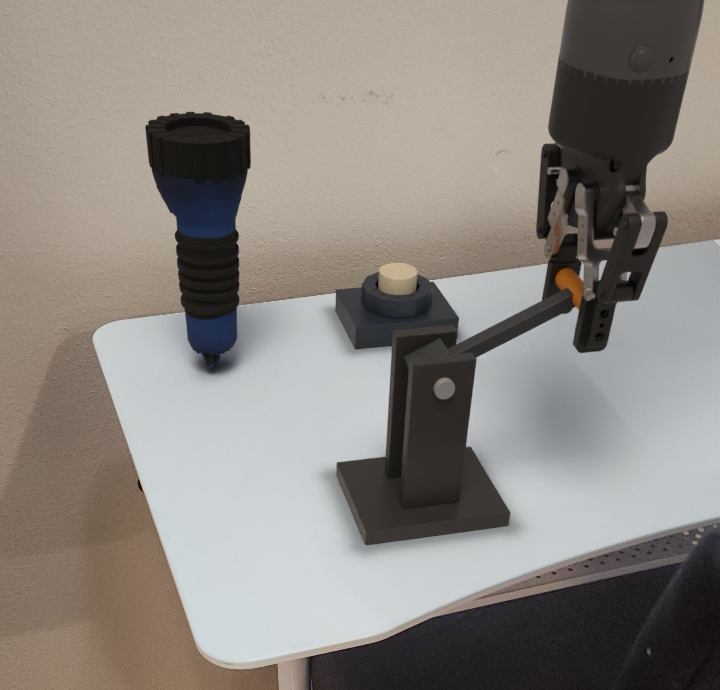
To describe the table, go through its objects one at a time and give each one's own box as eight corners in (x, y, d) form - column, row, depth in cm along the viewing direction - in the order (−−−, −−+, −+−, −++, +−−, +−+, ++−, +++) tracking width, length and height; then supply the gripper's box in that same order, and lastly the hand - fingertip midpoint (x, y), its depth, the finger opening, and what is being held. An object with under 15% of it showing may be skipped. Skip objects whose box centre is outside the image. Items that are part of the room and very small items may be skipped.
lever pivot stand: (469, 458, 80) (488, 307, 71) (508, 525, 74) (535, 369, 65) (336, 474, 78) (339, 320, 69) (365, 545, 72) (372, 385, 63)
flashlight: (249, 339, 94) (238, 106, 80) (269, 380, 88) (261, 139, 74) (163, 349, 92) (137, 112, 78) (178, 392, 86) (153, 146, 72)
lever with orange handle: (577, 287, 70) (570, 257, 68) (607, 319, 66) (600, 289, 65) (409, 373, 71) (397, 346, 69) (429, 410, 68) (418, 382, 66)
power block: (431, 302, 100) (435, 263, 98) (457, 339, 95) (461, 299, 92) (335, 310, 98) (335, 271, 96) (355, 349, 93) (356, 308, 90)
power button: (410, 279, 96) (411, 261, 94) (421, 295, 93) (422, 277, 92) (373, 282, 95) (374, 264, 94) (383, 298, 92) (384, 280, 91)
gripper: (748, 88, 53) (668, 376, 65) (630, 21, 63) (579, 282, 75) (619, 93, 52) (561, 387, 63) (519, 24, 62) (485, 289, 73)
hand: (571, 329), depth 69 cm, fingers closed on lever with orange handle, 5 cm apart
